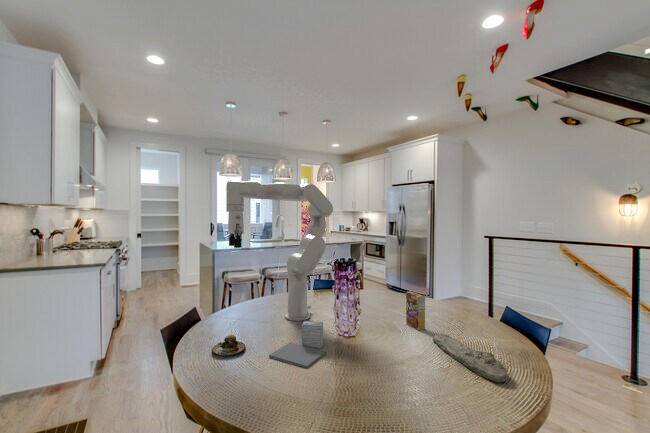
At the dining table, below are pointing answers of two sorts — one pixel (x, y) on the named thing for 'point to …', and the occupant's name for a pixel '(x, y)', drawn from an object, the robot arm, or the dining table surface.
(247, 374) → the dining table surface
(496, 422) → the dining table surface
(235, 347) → the burger
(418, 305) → the candy box
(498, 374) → the long grey stone
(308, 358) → the mat
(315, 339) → the medicine box
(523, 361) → the dining table surface
